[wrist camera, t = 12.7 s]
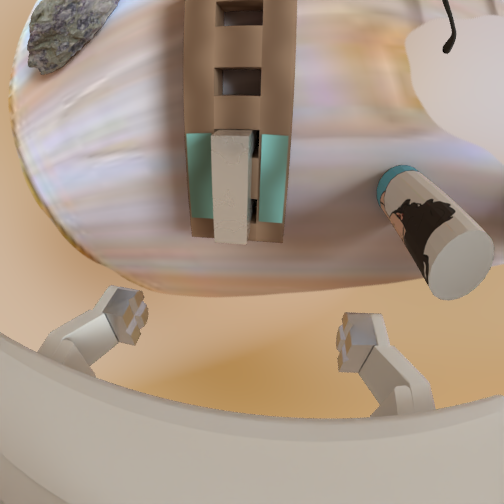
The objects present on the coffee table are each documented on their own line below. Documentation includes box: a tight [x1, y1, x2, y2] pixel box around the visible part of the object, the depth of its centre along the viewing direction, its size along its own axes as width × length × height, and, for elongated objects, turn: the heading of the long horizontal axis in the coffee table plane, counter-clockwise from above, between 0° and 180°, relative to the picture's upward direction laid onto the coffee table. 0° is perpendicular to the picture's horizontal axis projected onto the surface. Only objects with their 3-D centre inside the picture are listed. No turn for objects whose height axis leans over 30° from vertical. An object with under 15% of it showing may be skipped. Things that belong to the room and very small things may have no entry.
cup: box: [377, 165, 494, 300], centre depth 23 cm, size 7×7×15 cm
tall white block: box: [211, 129, 257, 245], centre depth 26 cm, size 3×10×8 cm, turn 178°
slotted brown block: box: [183, 0, 297, 243], centre depth 24 cm, size 10×28×4 cm, turn 179°
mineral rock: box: [27, 0, 119, 75], centre depth 15 cm, size 13×11×10 cm
